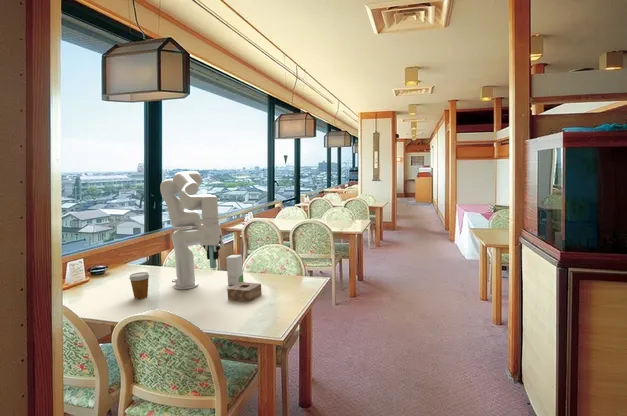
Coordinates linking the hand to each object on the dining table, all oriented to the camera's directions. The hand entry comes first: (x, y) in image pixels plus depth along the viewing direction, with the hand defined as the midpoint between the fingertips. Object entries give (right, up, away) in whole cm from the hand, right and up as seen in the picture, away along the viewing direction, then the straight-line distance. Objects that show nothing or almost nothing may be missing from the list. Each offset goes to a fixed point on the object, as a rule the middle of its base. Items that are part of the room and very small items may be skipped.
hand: (212, 258), depth 201 cm
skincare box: (+5, -18, +31) cm, 36 cm away
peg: (0, -4, 0) cm, 4 cm away
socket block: (+14, -20, +6) cm, 25 cm away
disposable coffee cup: (-40, -22, +13) cm, 47 cm away
